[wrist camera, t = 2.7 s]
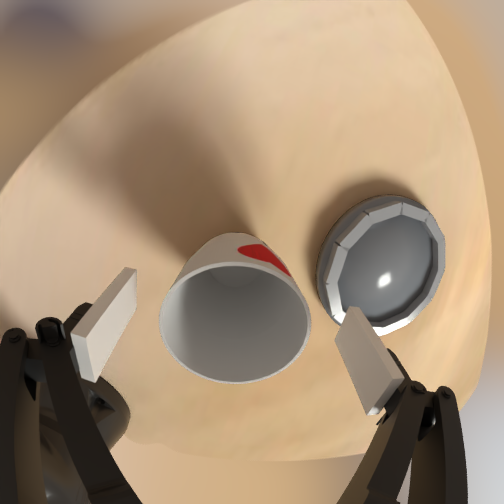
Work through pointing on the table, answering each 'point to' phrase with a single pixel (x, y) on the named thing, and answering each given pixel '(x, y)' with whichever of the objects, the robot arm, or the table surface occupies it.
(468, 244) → the table surface
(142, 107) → the table surface
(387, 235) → the tray
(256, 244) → the cup
